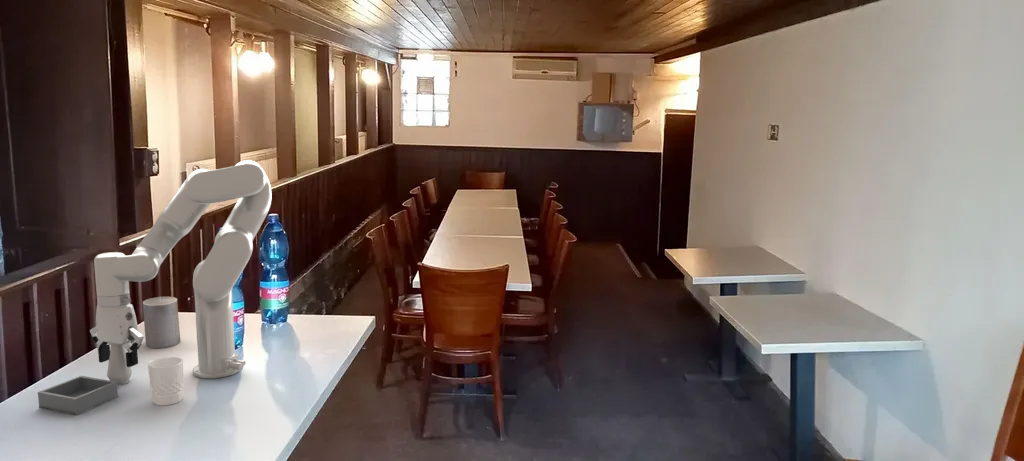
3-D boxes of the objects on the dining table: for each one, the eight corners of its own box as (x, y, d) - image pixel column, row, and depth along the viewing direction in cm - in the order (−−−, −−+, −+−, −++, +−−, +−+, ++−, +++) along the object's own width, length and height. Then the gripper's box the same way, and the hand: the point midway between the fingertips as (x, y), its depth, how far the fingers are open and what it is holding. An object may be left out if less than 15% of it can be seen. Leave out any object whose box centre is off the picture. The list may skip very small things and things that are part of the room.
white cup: (192, 396, 188) (189, 359, 186) (168, 408, 181) (166, 369, 179) (167, 392, 191) (165, 355, 189) (143, 403, 183) (140, 365, 182)
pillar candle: (158, 337, 234) (154, 291, 232) (186, 339, 233) (183, 293, 230) (138, 347, 225) (134, 300, 222) (168, 349, 223) (164, 301, 221)
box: (118, 397, 187) (117, 381, 186) (76, 415, 176) (74, 399, 175) (82, 390, 191) (81, 375, 190) (39, 407, 180) (37, 392, 179)
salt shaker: (121, 386, 194) (118, 339, 192) (102, 384, 195) (98, 337, 193) (137, 378, 199) (133, 332, 197) (118, 377, 201) (114, 330, 198)
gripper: (151, 299, 194) (155, 362, 197) (100, 293, 200) (105, 354, 203) (127, 307, 187) (132, 372, 190) (76, 300, 193) (81, 363, 196)
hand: (118, 363), depth 196 cm, fingers open, 9 cm apart
